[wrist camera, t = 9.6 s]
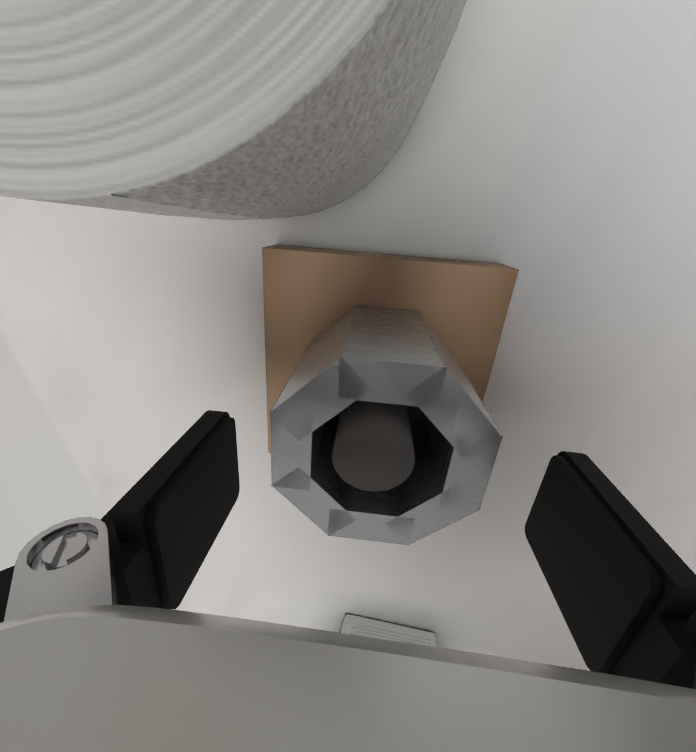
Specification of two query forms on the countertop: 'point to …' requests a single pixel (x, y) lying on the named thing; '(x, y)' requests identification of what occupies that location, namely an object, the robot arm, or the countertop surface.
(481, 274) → the shaft block
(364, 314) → the hub
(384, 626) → the supplement box
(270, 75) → the toilet paper roll
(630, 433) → the countertop surface
